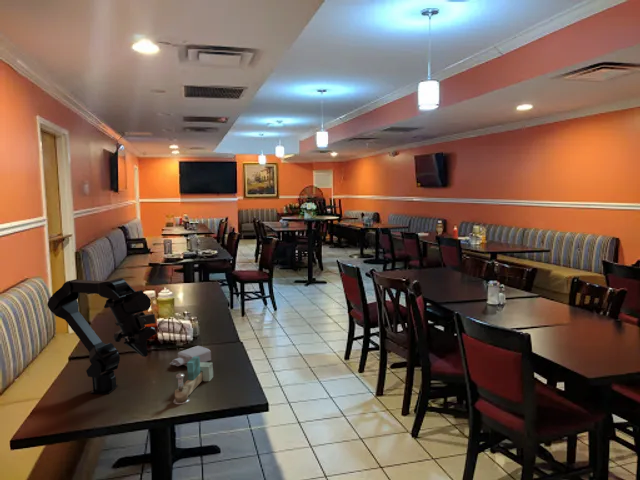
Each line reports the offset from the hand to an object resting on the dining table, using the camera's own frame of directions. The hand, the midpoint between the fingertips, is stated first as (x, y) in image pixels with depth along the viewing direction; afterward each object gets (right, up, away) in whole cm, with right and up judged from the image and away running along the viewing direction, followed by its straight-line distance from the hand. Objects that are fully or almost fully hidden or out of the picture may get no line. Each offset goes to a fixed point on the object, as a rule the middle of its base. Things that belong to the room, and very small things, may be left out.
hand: (145, 356), depth 158 cm
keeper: (+17, -11, +10) cm, 23 cm away
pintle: (+14, -13, -6) cm, 20 cm away
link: (+15, -11, +2) cm, 19 cm away
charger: (+7, -10, +25) cm, 28 cm away
